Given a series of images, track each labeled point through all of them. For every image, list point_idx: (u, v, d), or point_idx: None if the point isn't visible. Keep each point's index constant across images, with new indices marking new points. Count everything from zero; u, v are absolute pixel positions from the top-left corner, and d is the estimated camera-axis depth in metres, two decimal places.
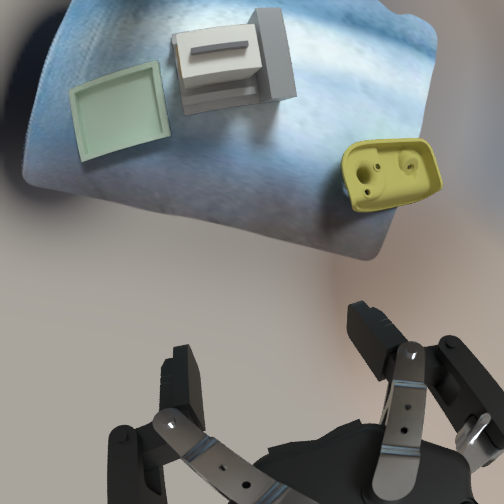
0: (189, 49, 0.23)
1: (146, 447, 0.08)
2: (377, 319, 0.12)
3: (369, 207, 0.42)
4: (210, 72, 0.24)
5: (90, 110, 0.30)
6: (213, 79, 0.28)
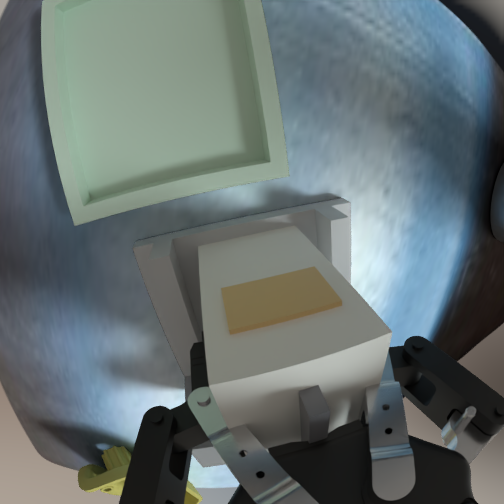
0: (323, 381, 0.08)
1: (179, 431, 0.09)
2: None
3: None
4: None
5: None
6: None
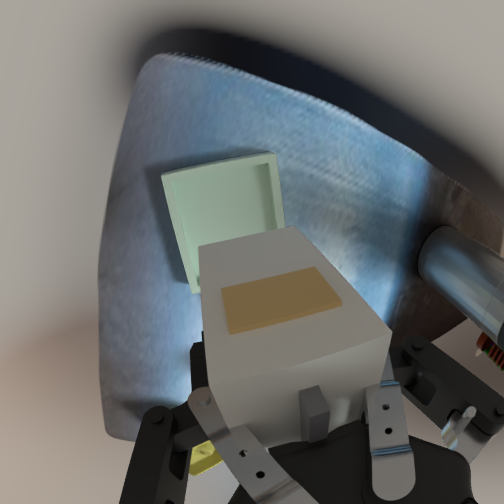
0: (323, 381, 0.08)
1: (179, 431, 0.09)
2: None
3: None
4: None
5: (236, 182, 0.27)
6: None
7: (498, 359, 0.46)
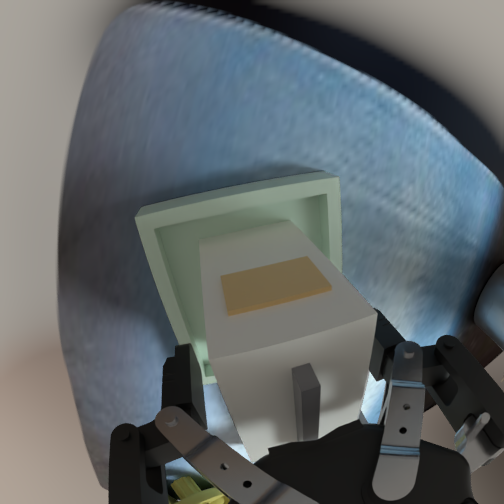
0: (314, 359, 0.08)
1: (148, 446, 0.08)
2: None
3: None
4: (231, 409, 0.09)
5: None
6: None
7: None
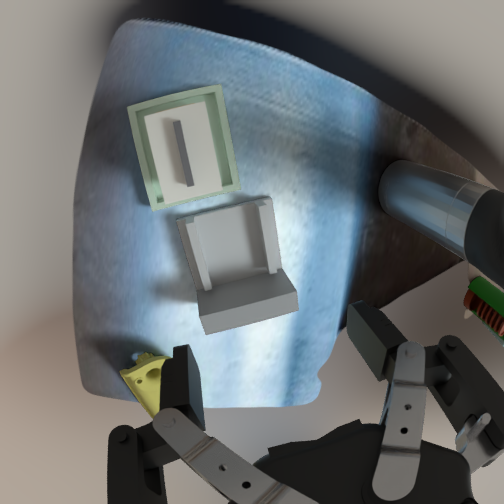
0: (182, 119, 0.22)
1: (146, 447, 0.08)
2: (377, 319, 0.12)
3: (126, 377, 0.41)
4: (151, 147, 0.22)
5: None
6: None
7: (487, 316, 0.49)
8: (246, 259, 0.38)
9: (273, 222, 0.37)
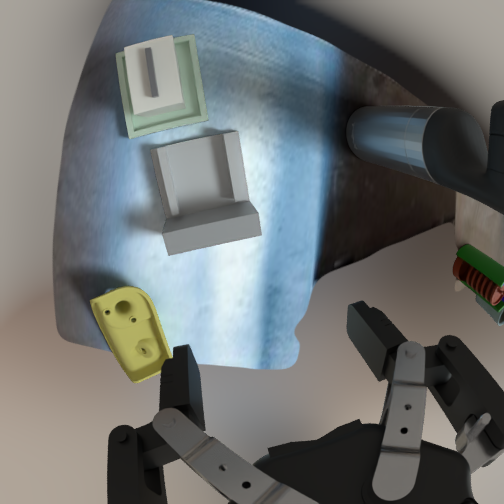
0: (153, 48, 0.23)
1: (146, 447, 0.08)
2: (377, 319, 0.12)
3: (97, 314, 0.42)
4: (127, 69, 0.23)
5: None
6: None
7: (477, 283, 0.49)
8: (214, 188, 0.39)
9: (239, 153, 0.38)
